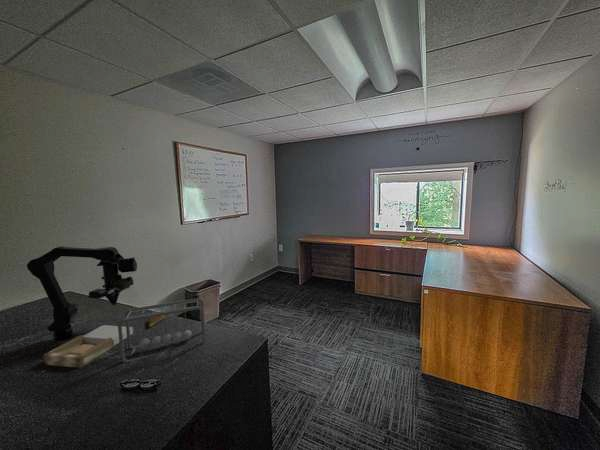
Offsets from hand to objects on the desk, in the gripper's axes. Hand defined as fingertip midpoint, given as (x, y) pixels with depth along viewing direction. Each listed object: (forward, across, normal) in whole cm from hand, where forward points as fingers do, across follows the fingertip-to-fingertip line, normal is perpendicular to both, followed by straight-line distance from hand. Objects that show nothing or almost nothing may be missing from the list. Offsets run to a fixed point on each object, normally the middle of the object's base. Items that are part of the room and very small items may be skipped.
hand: (114, 304), depth 118 cm
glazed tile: (+10, -19, -4) cm, 22 cm away
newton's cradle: (+12, -11, -36) cm, 40 cm away
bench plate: (+12, -8, -4) cm, 15 cm away
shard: (+13, +5, -19) cm, 24 cm away
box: (+12, -20, -4) cm, 24 cm away
